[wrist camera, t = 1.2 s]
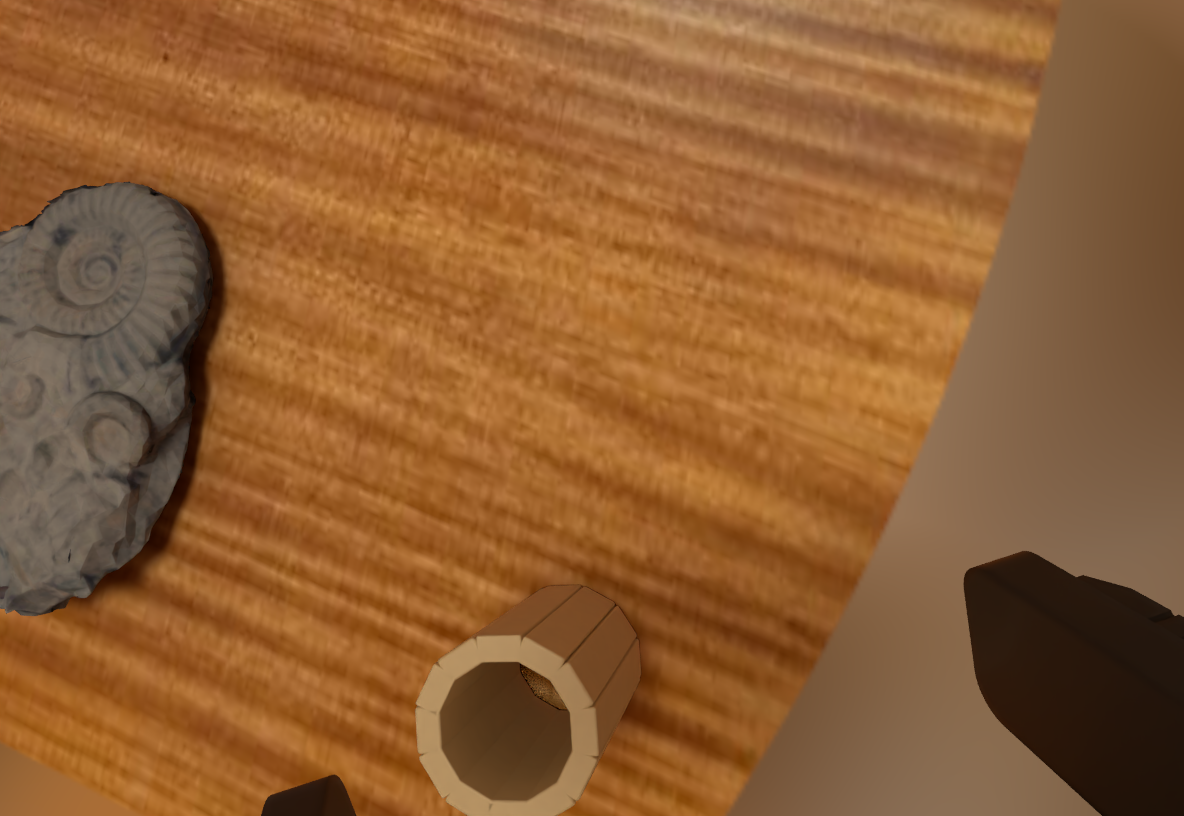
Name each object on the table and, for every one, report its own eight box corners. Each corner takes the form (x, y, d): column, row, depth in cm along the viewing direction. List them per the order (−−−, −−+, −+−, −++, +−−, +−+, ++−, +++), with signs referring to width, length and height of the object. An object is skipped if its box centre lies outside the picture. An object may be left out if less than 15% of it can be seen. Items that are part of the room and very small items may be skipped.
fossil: (216, 177, 36) (148, 145, 32) (260, 583, 35) (195, 601, 31) (-23, 234, 38) (-112, 210, 35) (11, 612, 37) (-78, 633, 33)
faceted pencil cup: (635, 582, 31) (590, 633, 24) (645, 731, 31) (603, 832, 23) (496, 587, 32) (409, 637, 25) (505, 730, 32) (421, 826, 24)
